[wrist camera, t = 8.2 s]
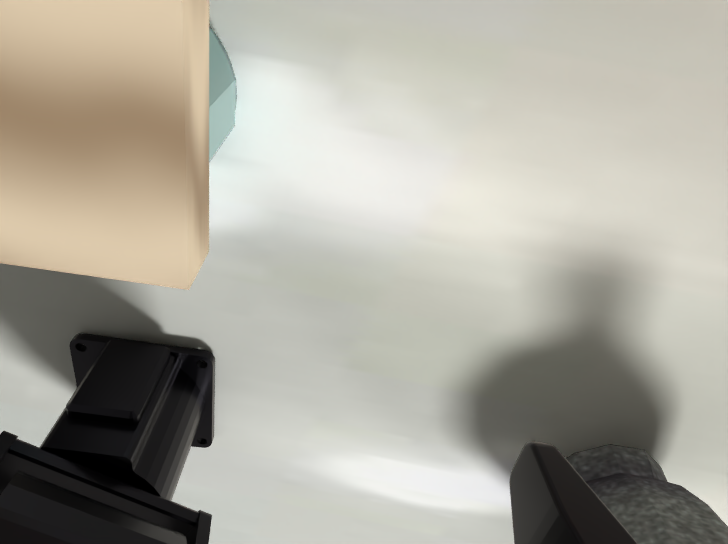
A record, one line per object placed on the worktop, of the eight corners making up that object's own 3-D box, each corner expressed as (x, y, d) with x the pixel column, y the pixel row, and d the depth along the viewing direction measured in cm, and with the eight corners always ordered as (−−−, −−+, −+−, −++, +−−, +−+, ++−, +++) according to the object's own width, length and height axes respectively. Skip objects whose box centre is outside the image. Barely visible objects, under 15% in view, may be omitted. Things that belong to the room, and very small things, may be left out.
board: (209, 251, 17) (188, 289, 16) (4, 221, 17) (-42, 257, 15) (209, -23, 13) (181, -15, 11) (-66, -73, 13) (-141, -73, 11)
